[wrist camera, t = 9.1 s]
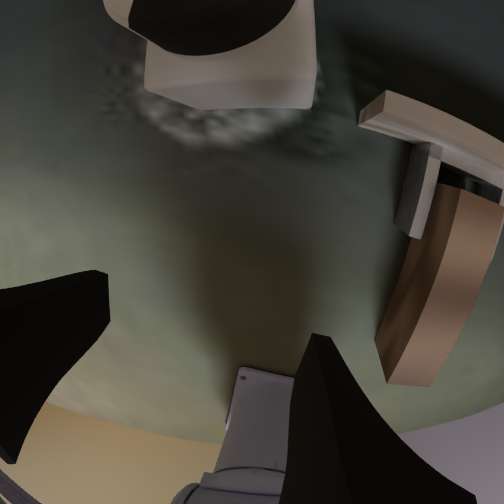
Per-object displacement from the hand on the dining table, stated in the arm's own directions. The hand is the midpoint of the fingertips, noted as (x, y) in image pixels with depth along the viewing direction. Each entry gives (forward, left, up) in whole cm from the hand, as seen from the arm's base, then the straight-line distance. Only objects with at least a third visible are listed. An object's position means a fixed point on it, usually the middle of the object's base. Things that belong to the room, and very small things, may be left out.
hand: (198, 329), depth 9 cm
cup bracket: (+6, -12, -10) cm, 17 cm away
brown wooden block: (+1, -12, -11) cm, 16 cm away
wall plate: (+9, -12, -10) cm, 18 cm away
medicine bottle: (+12, +2, -11) cm, 16 cm away
